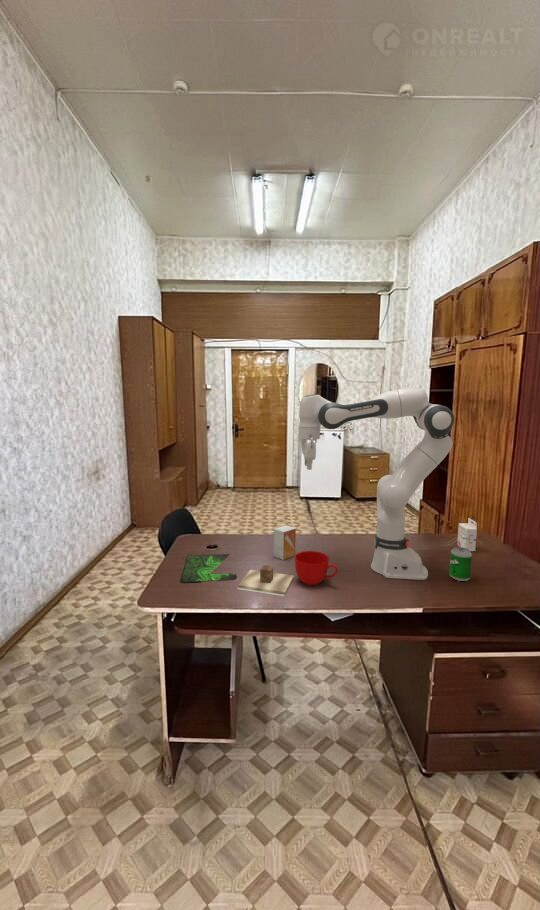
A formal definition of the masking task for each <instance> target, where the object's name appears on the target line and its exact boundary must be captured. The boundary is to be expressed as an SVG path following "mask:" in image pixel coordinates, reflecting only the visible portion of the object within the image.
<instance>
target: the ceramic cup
mask: <svg viewBox="0 0 540 910" xmlns="http://www.w3.org/2000/svg"><path fill="white" fill-rule="evenodd" d="M329 560H330V559H329V556H328V555H327V554H325V553H323V552H320V551H314V550H313V551H312V550H311V551H310V550H306V551H301V552H298V553H295V556H294V567H295V573H296V575H297V576H298V579H300V581H301V582H302V583H303V584H305V585H307V586H316V585H319V584H320V583H322V581H323V580H324V579H328V578H333V577H335V576H336V575H337V574H338V571H339V569H338V566H337V565H336V564H329ZM331 567H332V568H334V570H335V571H334V573H333V574H329V575H327V573H328V570H329V568H331Z"/></svg>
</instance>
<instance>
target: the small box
mask: <svg viewBox="0 0 540 910" xmlns="http://www.w3.org/2000/svg"><path fill="white" fill-rule="evenodd" d="M296 532H297V528H296V527H293V526H289V525H287V524H286V525H283V526H279V527H276V528H274V529H273V557H274V558H277V559H278V560H282V561H285V560H287V559H289V558H292V557H295V556H296V542H297V541H296V540H297V539H296V537H297V536H296V534H297V533H296Z"/></svg>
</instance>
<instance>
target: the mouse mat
mask: <svg viewBox="0 0 540 910" xmlns="http://www.w3.org/2000/svg"><path fill="white" fill-rule="evenodd" d="M230 555H231V554H230V553H228V554H227V553H221V554H198V555H196V554H195V555H187V556H186V559H185V562H184V566H183V569H182V573H181V576H180V578H179V579H180V580H179V581H180V582H181V583H182V584H192V583H194V584H195V583H202V582H223V581H235V580H237V579H238V578H237V577H238V576H237V573H235V574H233V573H230V572H229V573H213V571H214V570H215V569H216V568H218V567H219V566H220V565H221V564H222V563H223V562H224V561H225V560H226V559H227V558H228V557H229V556H230Z"/></svg>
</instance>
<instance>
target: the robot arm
mask: <svg viewBox="0 0 540 910" xmlns="http://www.w3.org/2000/svg"><path fill="white" fill-rule="evenodd" d="M298 411H299V412H298V415H299V416H298V417H299V425H298V435H297V436H298V439H300V443H301V445H300V446H301V453H302V455H303V458H304V466H305V467H306V469H307V471H308V470H309V471H310V470H311V471H312V466H313V461H314V460H316V456H317V455H316V454H317V442H318V441H317V440H319V439H321V426H322V427H323V428H325V429H327V430H335V429H338V428H340V427H342V425H344V424H346V423H349V422H353V421H357V420H363V419H370V418H376V419H386V420H389V419H398V418H404V417H413V420H414V422H415V424H416V425H417V427H418V428H419V429H421V430H423V431H424V436H423V438H422V439H421V441H420V442H419V443H418V444H416V446H415V447H414V448H413V449H412V450H411V451H410V452H409V453H408V454H407V455H406V456H405V457H404V458H403V459H402V461H401V462H400V464H399V465H398V466H397V468H396V469H395V471H394V472H393V473H392V474H386V475H383V476H382V477H380V479H379V480H378V482H377V485H376V517H377V518H376V532H375V536H374V543H373V544H374V554H373V556H372V557H373V558H372V562H371V564H370V568H371V570H372V571H374V572H375V573H378V574H380V575H383V577H384V578H387V579H402V580H419V581H421V580H423V581H425V580H427V579H428V577H429V571H428V568H426V566H425V565H423V561H422V558H421V556H420V555H419V554H418V553H417V552H416V551H415V550H414V549H412V544H411V542H410V540H409V538H408V537H405V529H406V525H405V524H406V516H405V515H406V514H405V506H406V505H407V504H408V503H409V500H410V499H411V498H412V496H413V495H414V494H415V492H416V491H417V489H418V488H419V487H420V485H422V482H423V481H424V480H425V479H426V478H427V477H428V476H429V475H430V474H431V473H432V472H433V470H435V469H436V468H437V467H438V465H440V463H441V462H442V461H443V460H444V459H445V458H446V457H447V455H448V454H449V453H450V451H451V449H452V448H453V443H454V441H453V440H452V438H451V437H450V435H451V431H452V428H453V426H454V424H455V415H454V412H453V411H452V410H451V409H450V408H449V407H447V406H445V405H442V404H433V403H430V401H429V397H428V394H427V392H426V391H425V390H424V389H423V388H420V387H408V388H405V387H404V388H397V389H393V390H388V391H385V392H383V393H380V394H377V395H376V396H375V397H373V398H371V399H369V400H366V401H361V402H355V403H350V404H340V403H338V402H333V401H330V400H328V399H326V398H324V397H322V396H321V395H320V394H317V393H315V394H307V395H305V396H303V397H302V398H301V400H300V403H299V410H298Z"/></svg>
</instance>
